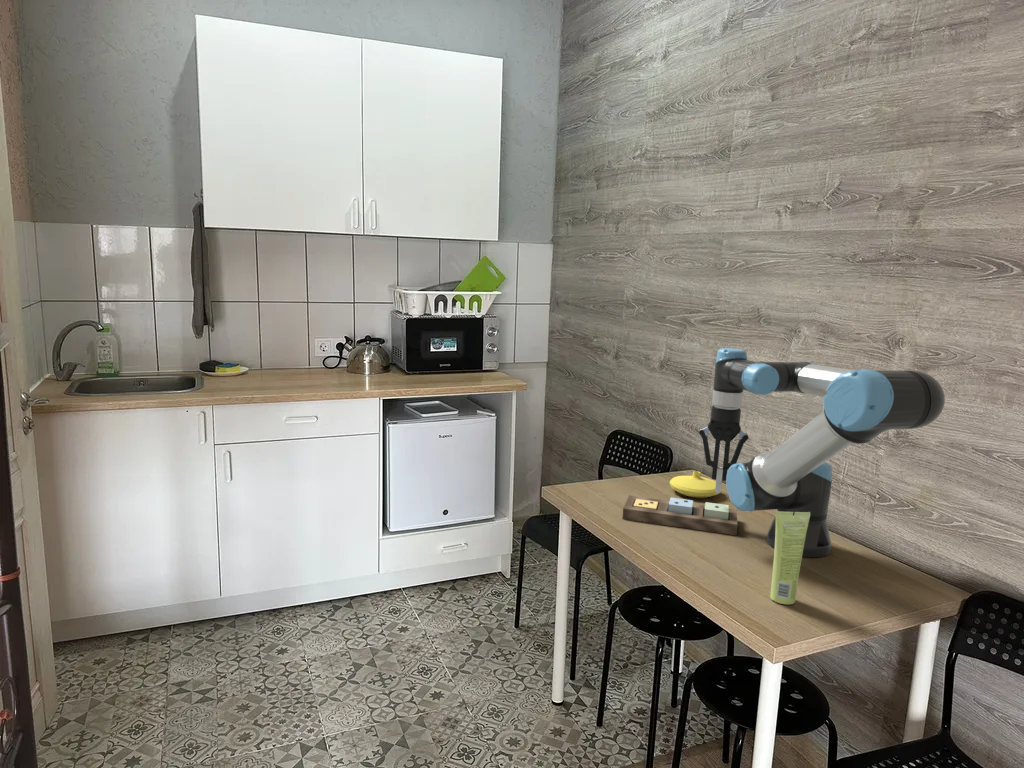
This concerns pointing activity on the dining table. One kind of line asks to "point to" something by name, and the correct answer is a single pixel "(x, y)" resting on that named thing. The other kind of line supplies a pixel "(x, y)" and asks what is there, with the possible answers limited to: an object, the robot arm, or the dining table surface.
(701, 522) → the board
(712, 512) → the tile
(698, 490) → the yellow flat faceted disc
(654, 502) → the tile
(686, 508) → the tile
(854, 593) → the dining table surface
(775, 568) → the tube
